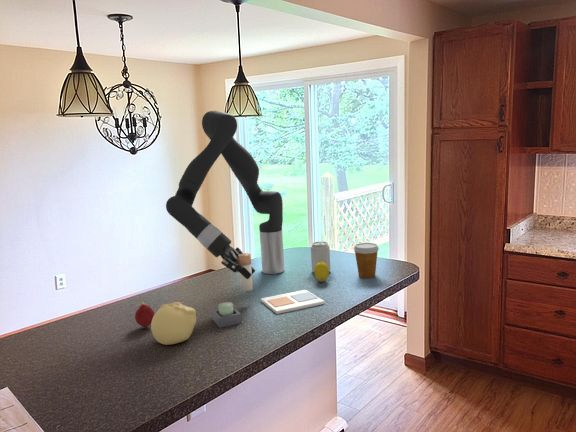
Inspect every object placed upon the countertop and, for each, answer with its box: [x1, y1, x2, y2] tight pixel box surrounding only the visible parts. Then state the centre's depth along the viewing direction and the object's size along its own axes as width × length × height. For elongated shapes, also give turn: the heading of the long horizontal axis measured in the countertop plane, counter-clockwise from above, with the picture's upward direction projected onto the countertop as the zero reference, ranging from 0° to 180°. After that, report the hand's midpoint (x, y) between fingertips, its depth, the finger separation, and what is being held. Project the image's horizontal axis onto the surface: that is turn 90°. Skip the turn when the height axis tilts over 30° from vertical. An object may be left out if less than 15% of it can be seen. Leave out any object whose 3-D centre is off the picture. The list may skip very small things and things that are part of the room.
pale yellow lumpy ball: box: [150, 301, 197, 346], centre depth 138 cm, size 11×12×11 cm
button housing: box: [211, 306, 242, 329], centre depth 150 cm, size 7×7×3 cm
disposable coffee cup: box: [353, 242, 380, 279], centre depth 187 cm, size 10×10×12 cm
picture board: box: [260, 289, 325, 315], centre depth 163 cm, size 14×17×1 cm
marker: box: [238, 252, 254, 292], centre depth 163 cm, size 4×4×12 cm
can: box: [310, 241, 331, 273], centre depth 196 cm, size 8×8×12 cm
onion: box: [134, 302, 156, 328], centre depth 148 cm, size 6×6×8 cm
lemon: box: [313, 261, 330, 283], centre depth 183 cm, size 6×6×8 cm
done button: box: [218, 301, 234, 317], centre depth 149 cm, size 4×4×4 cm
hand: (251, 274), depth 163 cm, fingers closed on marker, 4 cm apart
